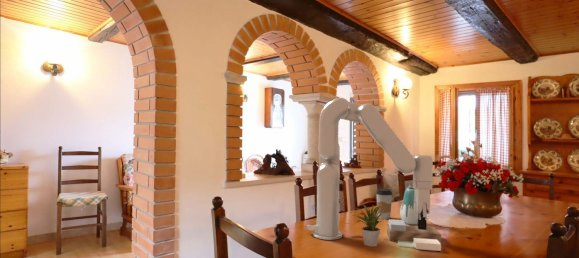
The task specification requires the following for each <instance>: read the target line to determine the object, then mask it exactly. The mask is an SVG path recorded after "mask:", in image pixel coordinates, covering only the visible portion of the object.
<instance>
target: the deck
mask: <svg viewBox="0 0 579 258" xmlns="http://www.w3.org/2000/svg"><path fill="white" fill-rule="evenodd" d="M405 225H406V231H391V229H390V227H389V223H387V226H386V229H387V230H386V231H387V232H386V233H387V236H388V239H389V241H390V242H397V241H410V242H414V238H421V239H436V240H438V241H439V242H440V244H441V245H442V234H441V233H440V231H438V230H437V228H436V227H434V226H427V229H426V230H420V229H418V225H410V224H405Z"/></svg>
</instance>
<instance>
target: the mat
mask: <svg viewBox="0 0 579 258" xmlns="http://www.w3.org/2000/svg"><path fill="white" fill-rule="evenodd" d="M396 242H397V244H398V246H399V248H410V249H416V248H415V246H414V244H413V243H414V242H410V241H396Z"/></svg>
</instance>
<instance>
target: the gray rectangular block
mask: <svg viewBox="0 0 579 258" xmlns="http://www.w3.org/2000/svg"><path fill="white" fill-rule="evenodd" d="M388 224H389V227H390V229H391V231H406V225H407V224H406V223H404V221H403V220H402V219H388Z"/></svg>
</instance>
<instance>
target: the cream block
mask: <svg viewBox="0 0 579 258" xmlns="http://www.w3.org/2000/svg"><path fill="white" fill-rule="evenodd" d="M413 244H414V246H415V248H414V249H415V250H423V251H425V250H426V251H436V252H437V251H440V252H441V251H442V243H441V244H440V242H439V241H438V240H436V239H421V238H414V243H413Z"/></svg>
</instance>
